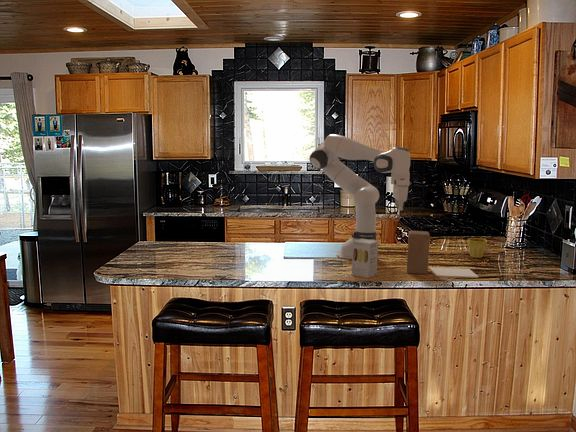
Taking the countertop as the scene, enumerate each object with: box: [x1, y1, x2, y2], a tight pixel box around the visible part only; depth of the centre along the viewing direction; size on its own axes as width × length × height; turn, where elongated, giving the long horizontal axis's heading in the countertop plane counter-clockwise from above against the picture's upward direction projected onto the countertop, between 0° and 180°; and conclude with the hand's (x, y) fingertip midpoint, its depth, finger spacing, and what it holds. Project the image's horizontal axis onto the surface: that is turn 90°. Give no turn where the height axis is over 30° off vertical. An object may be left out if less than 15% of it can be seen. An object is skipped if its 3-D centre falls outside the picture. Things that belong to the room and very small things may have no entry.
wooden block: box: [406, 230, 431, 276], centre depth 282 cm, size 10×10×20 cm
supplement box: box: [351, 239, 379, 279], centre depth 274 cm, size 10×9×17 cm
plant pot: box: [467, 237, 488, 259], centre depth 322 cm, size 10×10×10 cm
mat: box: [429, 267, 479, 279], centre depth 283 cm, size 20×16×1 cm
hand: (398, 208), depth 280 cm, fingers open, 8 cm apart
